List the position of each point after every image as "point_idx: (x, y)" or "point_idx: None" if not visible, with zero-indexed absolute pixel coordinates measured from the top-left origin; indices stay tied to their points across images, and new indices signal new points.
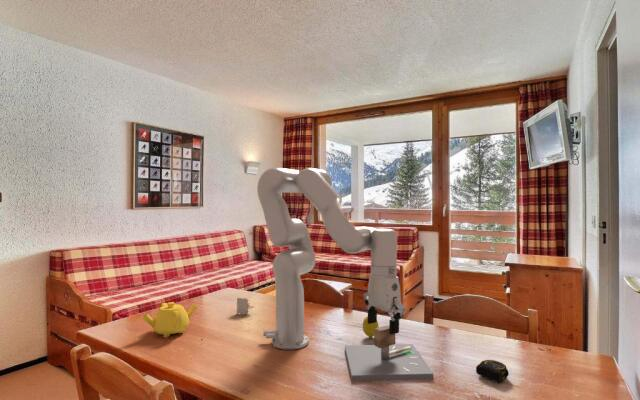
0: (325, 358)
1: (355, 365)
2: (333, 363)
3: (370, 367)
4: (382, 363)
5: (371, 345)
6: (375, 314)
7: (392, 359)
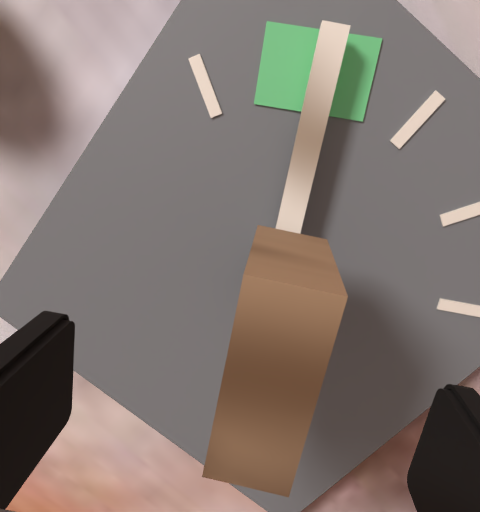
0: None
1: None
2: (100, 438)
3: None
4: None
5: (77, 180)
6: (14, 397)
7: None
